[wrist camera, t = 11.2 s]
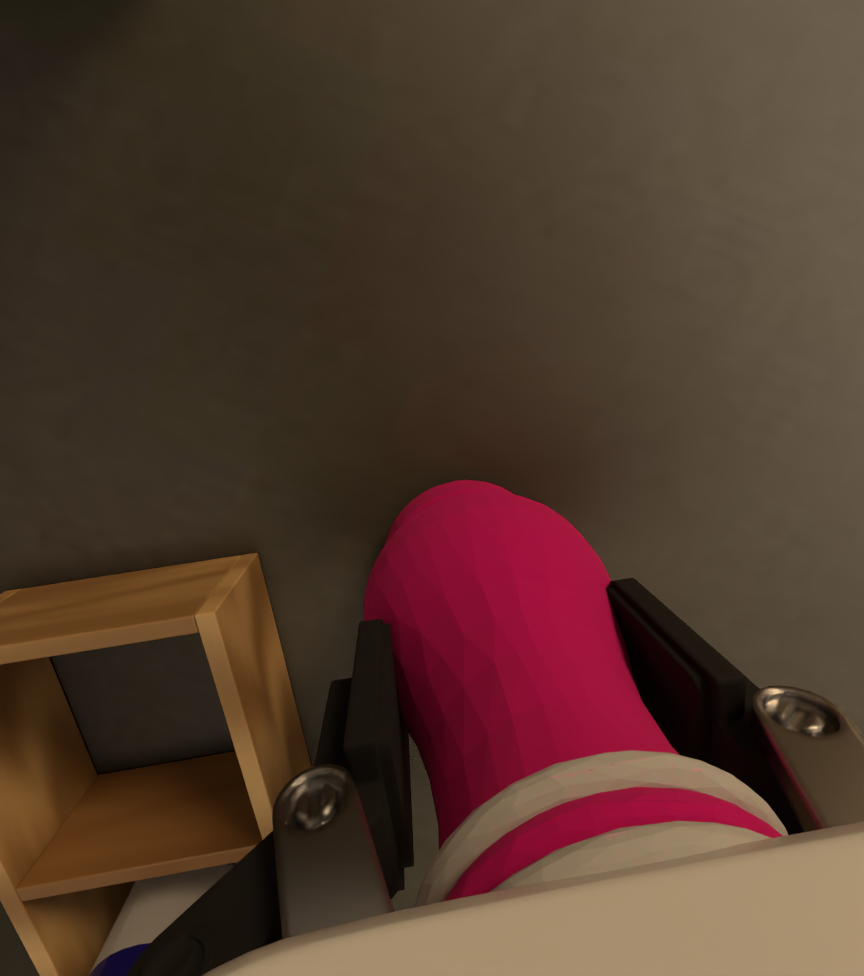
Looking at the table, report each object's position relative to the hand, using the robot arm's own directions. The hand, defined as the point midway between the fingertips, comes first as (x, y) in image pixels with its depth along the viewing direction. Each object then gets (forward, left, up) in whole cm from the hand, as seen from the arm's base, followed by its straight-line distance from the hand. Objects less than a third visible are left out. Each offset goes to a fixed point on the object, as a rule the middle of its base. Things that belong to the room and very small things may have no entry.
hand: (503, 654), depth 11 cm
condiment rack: (+8, -13, -7) cm, 16 cm away
